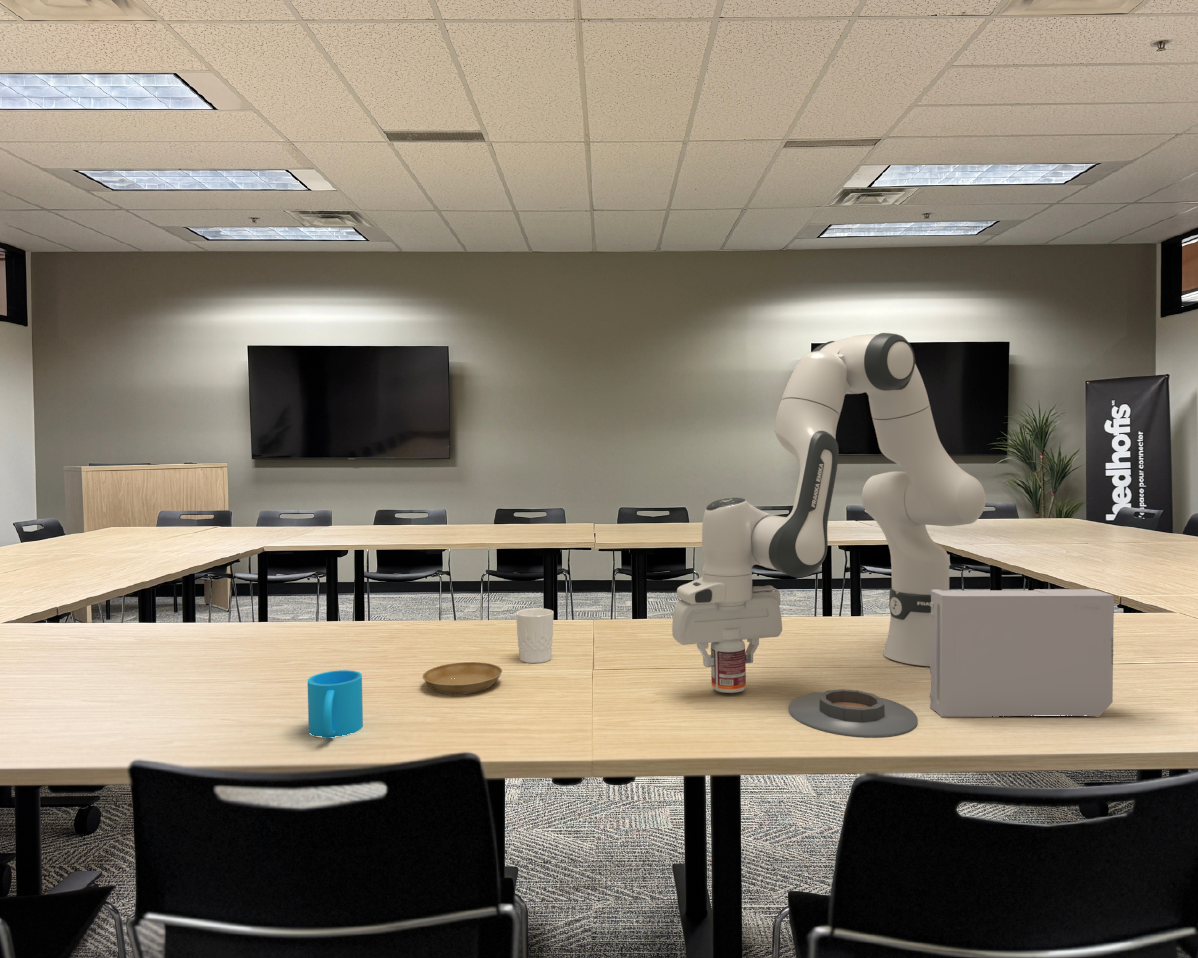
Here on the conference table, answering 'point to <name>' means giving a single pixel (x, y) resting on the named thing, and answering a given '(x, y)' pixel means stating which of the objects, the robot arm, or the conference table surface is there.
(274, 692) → the conference table surface
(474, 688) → the plant saucer
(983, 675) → the game console
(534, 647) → the white cup
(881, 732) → the round tray
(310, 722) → the mug
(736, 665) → the pill bottle
